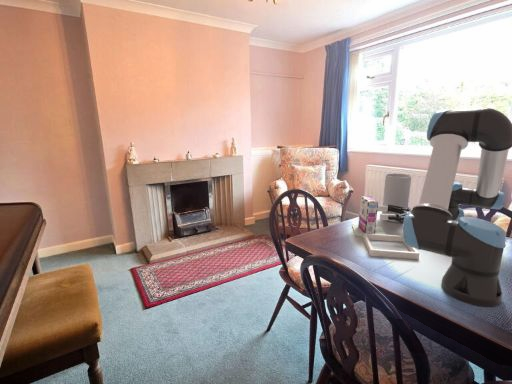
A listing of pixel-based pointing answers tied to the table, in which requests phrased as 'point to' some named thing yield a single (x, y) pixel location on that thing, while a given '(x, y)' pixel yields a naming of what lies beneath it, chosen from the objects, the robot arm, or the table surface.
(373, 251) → the square wooden frame
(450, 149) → the robot arm
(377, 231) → the mat
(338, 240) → the table surface
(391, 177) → the cylinder vase
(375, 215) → the candy bar box
